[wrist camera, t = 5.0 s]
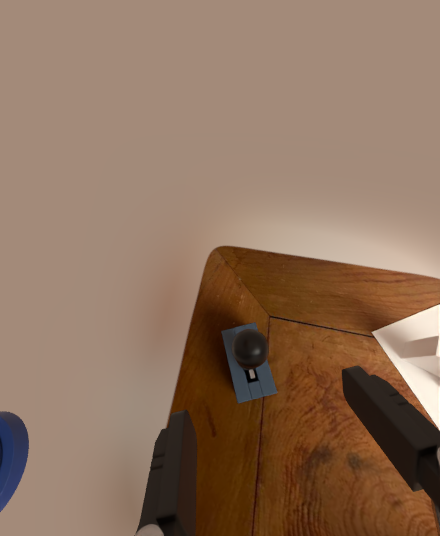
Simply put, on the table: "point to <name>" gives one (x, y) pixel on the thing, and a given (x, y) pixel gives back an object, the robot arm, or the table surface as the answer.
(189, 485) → the robot arm
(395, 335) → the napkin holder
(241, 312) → the table surface
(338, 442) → the table surface
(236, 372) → the knife stand
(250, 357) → the knife
